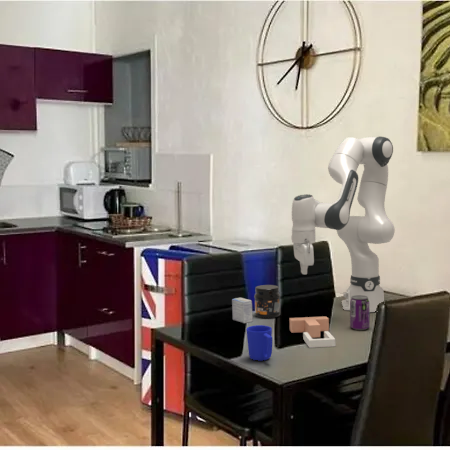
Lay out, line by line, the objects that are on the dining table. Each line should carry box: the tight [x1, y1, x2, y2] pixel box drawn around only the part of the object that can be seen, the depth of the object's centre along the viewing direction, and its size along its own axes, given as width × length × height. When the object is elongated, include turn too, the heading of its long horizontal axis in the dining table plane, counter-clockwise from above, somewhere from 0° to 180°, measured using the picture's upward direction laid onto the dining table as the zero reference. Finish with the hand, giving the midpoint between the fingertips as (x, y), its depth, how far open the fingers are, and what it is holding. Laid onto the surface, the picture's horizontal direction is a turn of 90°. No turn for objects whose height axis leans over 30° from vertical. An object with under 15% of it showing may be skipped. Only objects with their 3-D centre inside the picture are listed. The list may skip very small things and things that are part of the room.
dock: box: [302, 330, 336, 349], centre depth 227 cm, size 10×9×2 cm
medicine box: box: [231, 297, 253, 324], centre depth 260 cm, size 8×4×9 cm, turn 34°
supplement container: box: [253, 284, 281, 319], centre depth 267 cm, size 10×10×12 cm
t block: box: [288, 316, 330, 339], centre depth 239 cm, size 12×14×4 cm
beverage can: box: [349, 295, 371, 331], centre depth 243 cm, size 7×7×12 cm
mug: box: [246, 324, 273, 362], centre depth 209 cm, size 8×12×10 cm
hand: (304, 273), depth 249 cm, fingers closed
